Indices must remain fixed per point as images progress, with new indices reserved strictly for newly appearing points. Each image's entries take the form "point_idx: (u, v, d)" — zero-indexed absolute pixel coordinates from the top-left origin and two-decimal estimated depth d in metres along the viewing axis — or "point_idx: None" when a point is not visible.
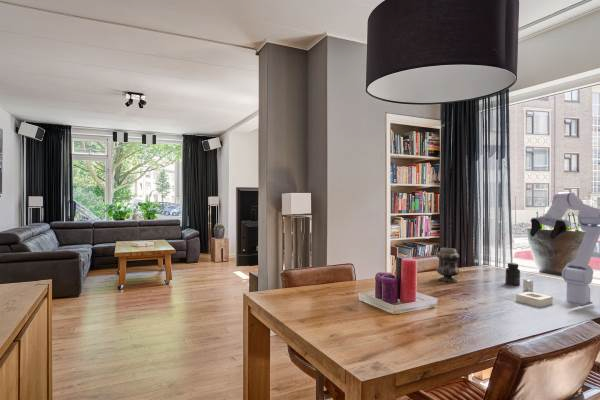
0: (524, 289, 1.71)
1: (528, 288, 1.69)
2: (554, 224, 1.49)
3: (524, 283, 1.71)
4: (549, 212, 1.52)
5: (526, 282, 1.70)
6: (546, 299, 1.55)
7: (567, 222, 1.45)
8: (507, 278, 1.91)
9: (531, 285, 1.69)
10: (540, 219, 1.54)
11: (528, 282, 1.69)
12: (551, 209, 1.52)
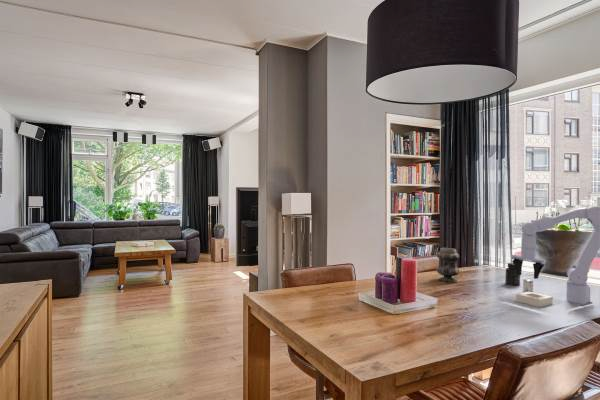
0: (524, 289, 1.71)
1: (528, 288, 1.69)
2: None
3: (524, 283, 1.71)
4: (523, 253, 1.70)
5: (526, 282, 1.70)
6: (546, 299, 1.55)
7: (542, 262, 1.64)
8: (507, 278, 1.91)
9: (531, 285, 1.69)
10: (518, 257, 1.73)
11: (528, 282, 1.69)
12: (524, 249, 1.70)
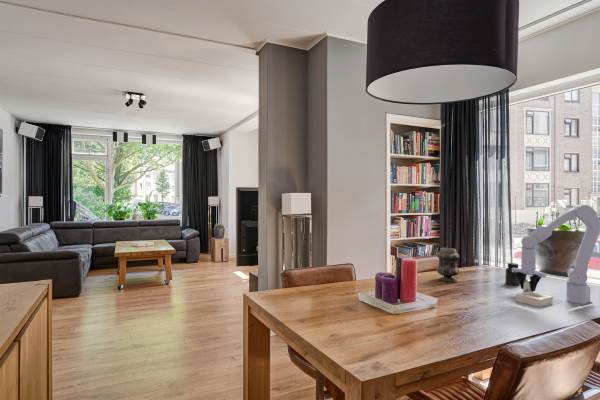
0: (524, 289, 1.71)
1: (528, 288, 1.69)
2: None
3: (524, 283, 1.71)
4: (523, 266, 1.70)
5: (526, 282, 1.70)
6: (546, 299, 1.55)
7: (542, 276, 1.64)
8: (507, 278, 1.91)
9: None
10: (519, 270, 1.74)
11: (528, 282, 1.69)
12: (524, 262, 1.70)
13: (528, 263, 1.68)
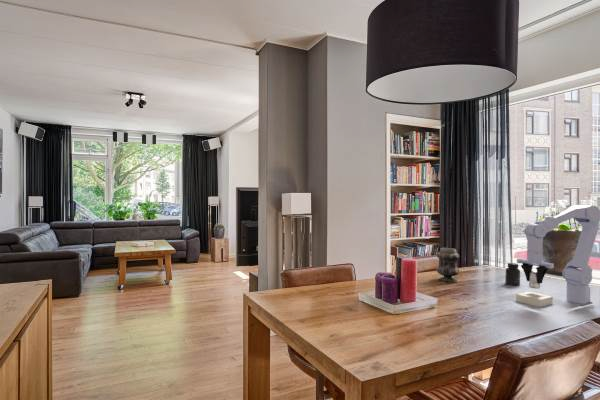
0: (530, 281, 1.59)
1: (535, 280, 1.57)
2: None
3: (531, 275, 1.59)
4: (529, 256, 1.58)
5: (533, 274, 1.58)
6: (546, 299, 1.55)
7: (550, 266, 1.53)
8: (507, 278, 1.91)
9: None
10: (524, 261, 1.62)
11: (535, 274, 1.57)
12: (530, 252, 1.58)
13: (534, 253, 1.57)
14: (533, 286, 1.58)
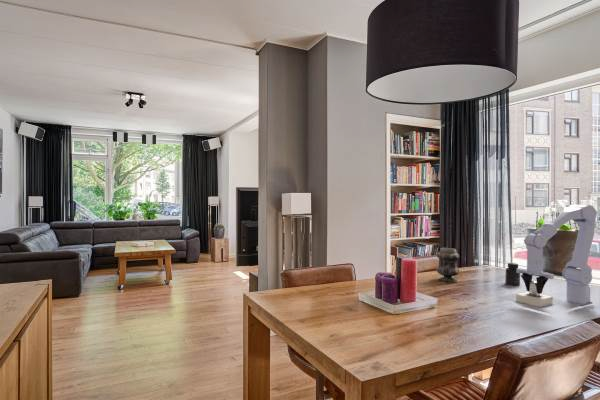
0: (530, 291, 1.59)
1: (535, 290, 1.57)
2: None
3: (530, 285, 1.59)
4: (529, 267, 1.58)
5: (533, 284, 1.58)
6: (546, 299, 1.55)
7: (550, 277, 1.53)
8: (507, 278, 1.91)
9: None
10: (524, 271, 1.62)
11: (535, 284, 1.57)
12: (529, 262, 1.58)
13: (534, 263, 1.57)
14: (533, 296, 1.58)
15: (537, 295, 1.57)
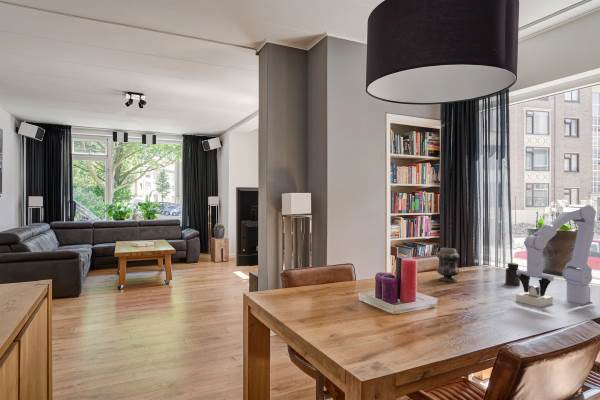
0: None
1: (535, 295, 1.57)
2: None
3: (530, 289, 1.59)
4: (529, 268, 1.58)
5: (533, 288, 1.58)
6: (546, 299, 1.55)
7: (550, 279, 1.53)
8: (507, 278, 1.91)
9: (538, 292, 1.57)
10: None
11: (534, 289, 1.57)
12: (529, 264, 1.58)
13: (534, 265, 1.57)
14: None
15: None
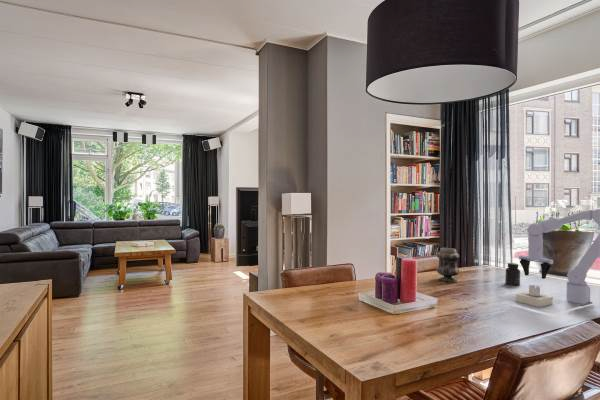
0: None
1: (535, 295, 1.57)
2: None
3: (530, 289, 1.59)
4: (531, 253, 1.71)
5: (533, 288, 1.58)
6: (546, 299, 1.55)
7: (550, 262, 1.65)
8: (507, 278, 1.91)
9: (538, 292, 1.57)
10: (526, 258, 1.75)
11: (535, 289, 1.57)
12: (531, 249, 1.71)
13: (535, 250, 1.69)
14: None
15: None
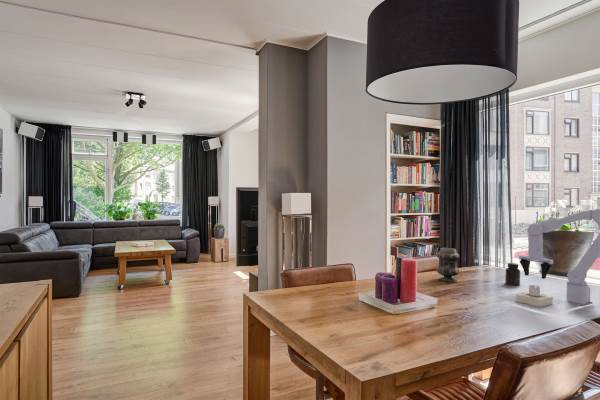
0: None
1: (535, 295, 1.57)
2: None
3: (530, 289, 1.59)
4: (531, 253, 1.71)
5: (533, 288, 1.58)
6: (546, 299, 1.55)
7: (549, 262, 1.66)
8: (507, 278, 1.91)
9: (538, 292, 1.57)
10: (526, 258, 1.75)
11: (535, 289, 1.57)
12: (531, 249, 1.71)
13: (535, 250, 1.69)
14: None
15: None
